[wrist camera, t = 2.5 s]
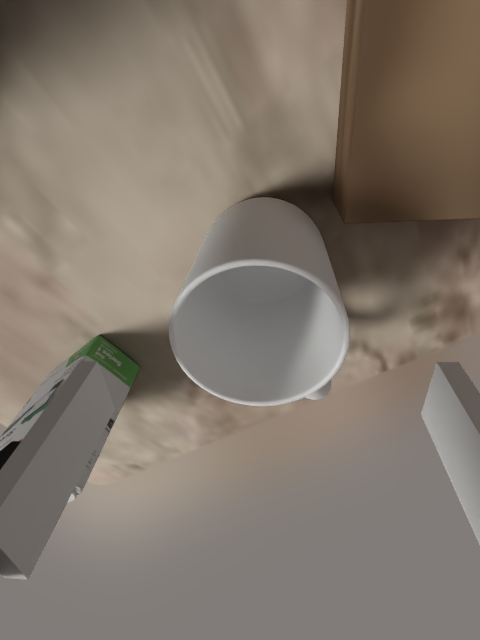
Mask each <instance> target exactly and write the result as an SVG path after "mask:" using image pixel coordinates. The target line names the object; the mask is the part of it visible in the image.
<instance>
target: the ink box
mask: <svg viewBox="0 0 480 640" xmlns="http://www.w3.org/2000/svg"><path fill="white" fill-rule="evenodd" d="M80 361H98V364H99V366H100V369H101V372H102V375H103V377H104V380H105V383H106V386H107V388H108V391H109V394H110V396H111V399H112V402H113V405H114V407H115V410H114V412H113V414H112V416H111V418H110V420H109V422H108V424H107V426H106V428H105V430H104V432H103V434H102V435H101V437H100V439H99V441H98V443H97V445H96V447H95V449H94V451H93V453H92V455H91V457H90V459H89V461H88V463H87V465H86V467H85V469H84V471H83V473H82V475H81V477H80V479H79V481H78V482H77V484H76V486H75V488H74V490H73V492H72V494H71V496H70V498H69V500H68V502H71V501H73V500H75V499H76V495H78V494H80V493H81V492H82V490H83V488H84V486H85V484H86V482H87V480H88V478H89V476H90V473H91V471H92V469H93V467H94V465H95V463H96V461H97V459H98V456H99V454H100V452H101V450H102V448H103V446H104V444H105V441H106V439H107V437H108V435H109V433H110V430H111V428H112V426H113V424H114V422H115V420H116V418H117V416H118V414H119V412H120V410H121V408H122V405H123V403H124V401H125V399H126V397H127V395H128V393H129V391H130V389H131V387H132V384H133V382H134V380H135V378H136V376H137V374H138V371H139V369H140V366H139V365H137V364H136V363H135V362H134V361H132V360H131V359H130V358H129V357H127V356H126V355H125V354H124V353H122V352H121V351H120V350H119V349H117V348H116V347H115V346H114V345H112V344H111V343H109V342H108V341H107V340H105V339H104V338H103V337H101V336H97V337H95V338H94V339H93V340H91V341H90V342H89V343H87V344H86V345H85V346H84V347H83V348H81V349H80V350H79V351H78V352H76V353H75V354H74V355H72V356H71V357H70V358H69V359H67V360H66V361H65V362H64V363H62V364H61V365H60V366H59V367H57V368H56V369H55V370H54V371H52V372H51V373H50V374H49V375H48V376H47V377H46V378H45V380H44V381H43V382H42V384H41V385H40V386H39V388H38V389H37V390H36V392H35V393H34V394H33V395H32V397H31V398H30V399H29V401H28V402H27V403H26V404H25V406H24V407H23V408H22V410H21V411H20V412H19V414H18V415H17V416H16V417H15V419H14V420H13V421H12V423H11V424H10V425H9V427H8V428H7V429H6V431H5V432H4V433H3V434H2V436H1V437H0V451H1V450H2V449H3V448H4V447H5V446H7V445H8V444H9V443H10V442H12V441H22V440H23V438H24V437H25V436H26V434H27V433H28V431H29V430H30V429H31V427H32V426H33V425H34V423H35V422H36V421H37V419H38V418H39V416H40V415H41V414H42V412H43V411H44V410H45V408H46V407H47V406H48V404H49V403H50V401H51V400H52V399H53V397H54V396H55V395H56V393H57V392H58V390H59V389H60V388H61V386H62V385H63V384H64V382H65V381H66V380H67V378H68V377H69V375H70V374H71V373H72V371H73V370H74V369H75V367H76V366H77V364H78V363H79V362H80ZM68 502H67V503H68Z"/></svg>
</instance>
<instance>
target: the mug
mask: <svg viewBox="0 0 480 640" xmlns="http://www.w3.org/2000/svg"><path fill="white" fill-rule="evenodd" d="M169 338H170V344H171V348H172V351H173V354H174V356H175V358H176V360H177V362H178V363H179V365H180V367H181V368H182V370H183V371H184V372H185V373H186V374H187V376H188V377H189V378H191V379H192V380H193V381H194V382H195V383H196V384H197V385H199V386H200V387H201V388H203V389H204V390H206V391H208V392H209V393H211V394H213V395H215V396H217V397H220V398H222V399H225V400H228V401H231V402H235V403H239V404H245V405H253V406H272V405H280V404H285V403H289V402H293V401H296V400H299V399H302V398H304V397H306V398H309V399H313V400H317V399H322V398H323V397H325V396H326V395H327V394H328V393H329V391H330V388H331V379H332V378H333V377H334V375H335V374H336V373H337V372H338V370H339V369H340V367H341V365H342V364H343V362H344V360H345V357H346V354H347V352H348V348H349V343H350V325H349V320H348V316H347V313H346V310H345V307H344V304H343V300H342V297H341V294H340V291H339V288H338V285H337V282H336V279H335V275H334V272H333V269H332V266H331V263H330V260H329V257H328V254H327V250H326V247H325V244H324V241H323V238H322V236H321V234H320V232H319V230H318V228H317V226H316V225H315V223H314V222H313V221H312V219H311V218H310V217H309V216H308V215H307V214H306V213H305V212H303V211H302V210H301V209H300V208H298V207H297V206H295V205H293V204H291V203H289V202H287V201H284V200H280V199H276V198H270V197H259V198H252V199H248V200H244V201H242V202H239V203H237V204H235V205H233V206H231V207H230V208H228V209H227V210H226V211H224V212H223V213H222V214H221V215H220V216H219V217H218V218H217V219H216V220H215V222H214V223H213V224H212V226H211V227H210V229H209V231H208V233H207V234H206V236H205V238H204V241H203V243H202V245H201V247H200V249H199V251H198V254H197V256H196V258H195V260H194V262H193V264H192V267H191V269H190V271H189V273H188V275H187V278H186V280H185V282H184V284H183V286H182V288H181V291H180V293H179V295H178V297H177V299H176V301H175V304H174V306H173V309H172V312H171V315H170V321H169Z"/></svg>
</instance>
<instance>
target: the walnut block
mask: <svg viewBox="0 0 480 640" xmlns="http://www.w3.org/2000/svg"><path fill="white" fill-rule="evenodd" d="M333 202H334V204H335V206H336V208H337V210H338V212H339V214H340V216H341V218H342V220H343V221H344V223H345V224H349V223H374V222H398V221H422V220H446V219H470V218H480V0H347V9H346V22H345V36H344V50H343V63H342V77H341V91H340V105H339V118H338V132H337V146H336V159H335V173H334V187H333Z"/></svg>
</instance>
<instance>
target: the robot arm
mask: <svg viewBox="0 0 480 640" xmlns="http://www.w3.org/2000/svg"><path fill="white" fill-rule="evenodd" d="M114 410H115V407H114V405H113V402H112V399H111V396H110V394H109V391H108V388H107V386H106V383H105V380H104V377H103V375H102V372H101V369H100V366H99V364H98V361H80V362H79V363H78V364H77V366H76V367H75V369H74V370H73V371H72V373H71V374H70V375H69V377H68V378H67V380H66V381H65V382H64V384H63V385H62V386H61V388H60V389H59V390H58V392H57V393H56V395H55V396H54V397H53V399H52V400H51V401H50V403H49V404H48V406H47V407H46V408H45V410H44V411H43V412H42V414H41V415H40V416H39V418H38V419H37V421H36V422H35V423H34V425H33V426H32V427H31V429H30V430H29V431H28V433H27V434H26V436H25V437H24V438H23V440H22V441H12V442H10V443H9V444H8V445H7V446H5V447H4V448H3V449H2V450H1V451H0V574H1V575H2V576H3V577H4V578H17V579H28V578H29V577H30V575H31V572H32V571H33V569H34V566H35V565H36V563H37V561H38V559H39V557H40V555H41V553H42V551H43V549H44V547H45V545H46V543H47V541H48V539H49V537H50V535H51V533H52V531H53V529H54V528H55V526H56V524H57V521H58V520H59V518H60V516H61V514H62V512H63V510H64V508H65V506H66V504H67V502H68V500H69V498H70V496H71V494H72V492H73V490H74V488H75V486H76V484H77V482H78V481H79V479H80V477H81V475H82V473H83V471H84V469H85V467H86V465H87V463H88V461H89V459H90V457H91V455H92V453H93V451H94V449H95V447H96V445H97V443H98V441H99V439H100V437H101V435H102V434H103V432H104V430H105V428H106V426H107V424H108V422H109V420H110V418H111V416H112V414H113V412H114ZM421 415H422V418H423V420H424V422H425V424H426V426H427V428H428V431H429V433H430V435H431V438H432V440H433V442H434V444H435V446H436V449H437V451H438V453H439V455H440V457H441V460H442V462H443V464H444V467H445V469H446V471H447V473H448V475H449V478H450V480H451V482H452V484H453V487H454V489H455V491H456V493H457V495H458V498H459V500H460V502H461V505H462V507H463V509H464V511H465V514H466V516H467V518H468V520H469V522H470V525H471V527H472V529H473V531H474V533H475V536H476V538H477V540H478V543H479V545H480V393H479V391H478V390H477V388H476V387H475V385H474V384H473V382H472V381H471V379H470V378H469V376H468V375H467V374H466V372H465V371H464V369H463V368H462V366H461V365H460V363H459V362H437V363H436V366H435V370H434V373H433V377H432V380H431V383H430V386H429V390H428V393H427V396H426V400H425V403H424V407H423V410H422V413H421Z"/></svg>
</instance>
